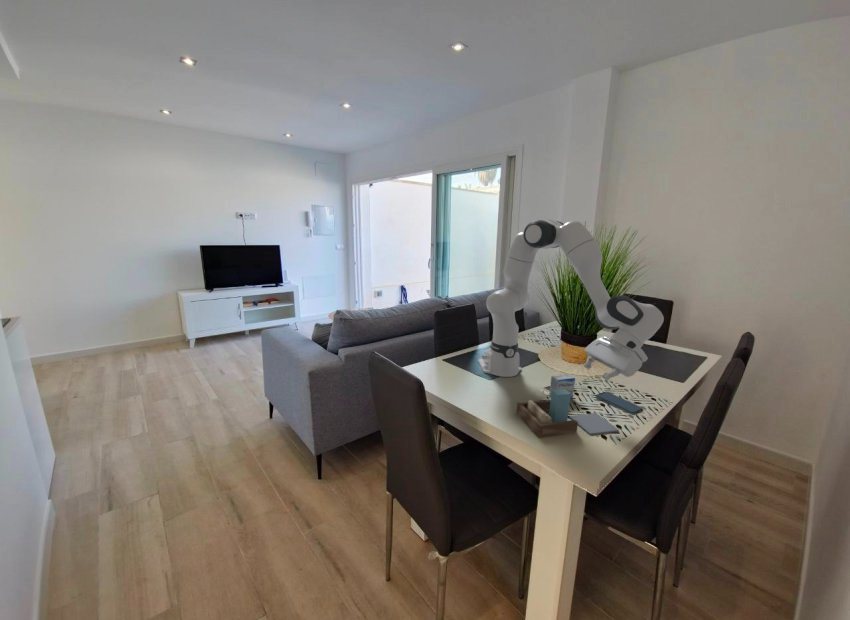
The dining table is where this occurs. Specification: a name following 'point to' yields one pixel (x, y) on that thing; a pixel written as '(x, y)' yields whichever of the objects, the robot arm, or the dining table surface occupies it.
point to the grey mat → (594, 424)
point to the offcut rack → (545, 428)
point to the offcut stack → (538, 413)
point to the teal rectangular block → (559, 405)
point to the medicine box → (563, 383)
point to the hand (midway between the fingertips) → (594, 372)
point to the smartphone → (619, 402)
